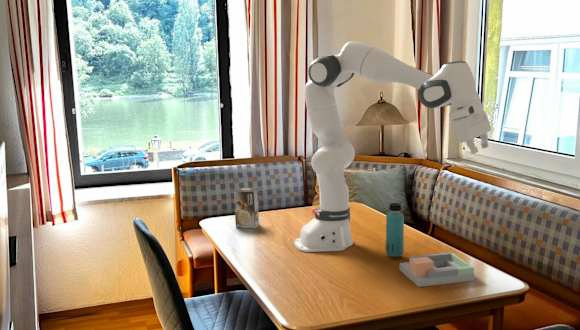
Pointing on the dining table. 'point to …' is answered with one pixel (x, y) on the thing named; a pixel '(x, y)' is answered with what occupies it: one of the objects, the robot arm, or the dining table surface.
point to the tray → (441, 270)
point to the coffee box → (246, 207)
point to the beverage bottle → (395, 231)
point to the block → (421, 266)
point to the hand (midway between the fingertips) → (480, 150)
